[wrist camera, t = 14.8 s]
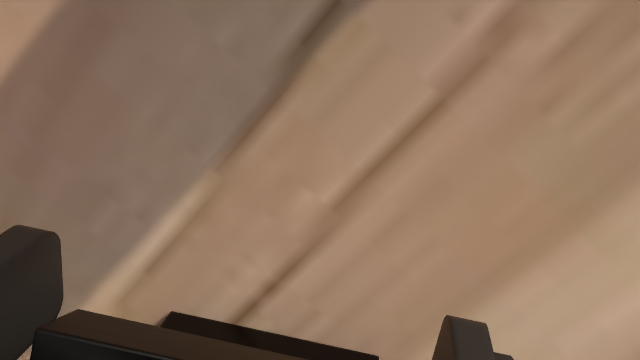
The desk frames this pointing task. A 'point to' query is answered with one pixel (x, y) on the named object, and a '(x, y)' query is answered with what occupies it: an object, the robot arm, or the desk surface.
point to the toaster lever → (131, 342)
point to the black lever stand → (260, 339)
